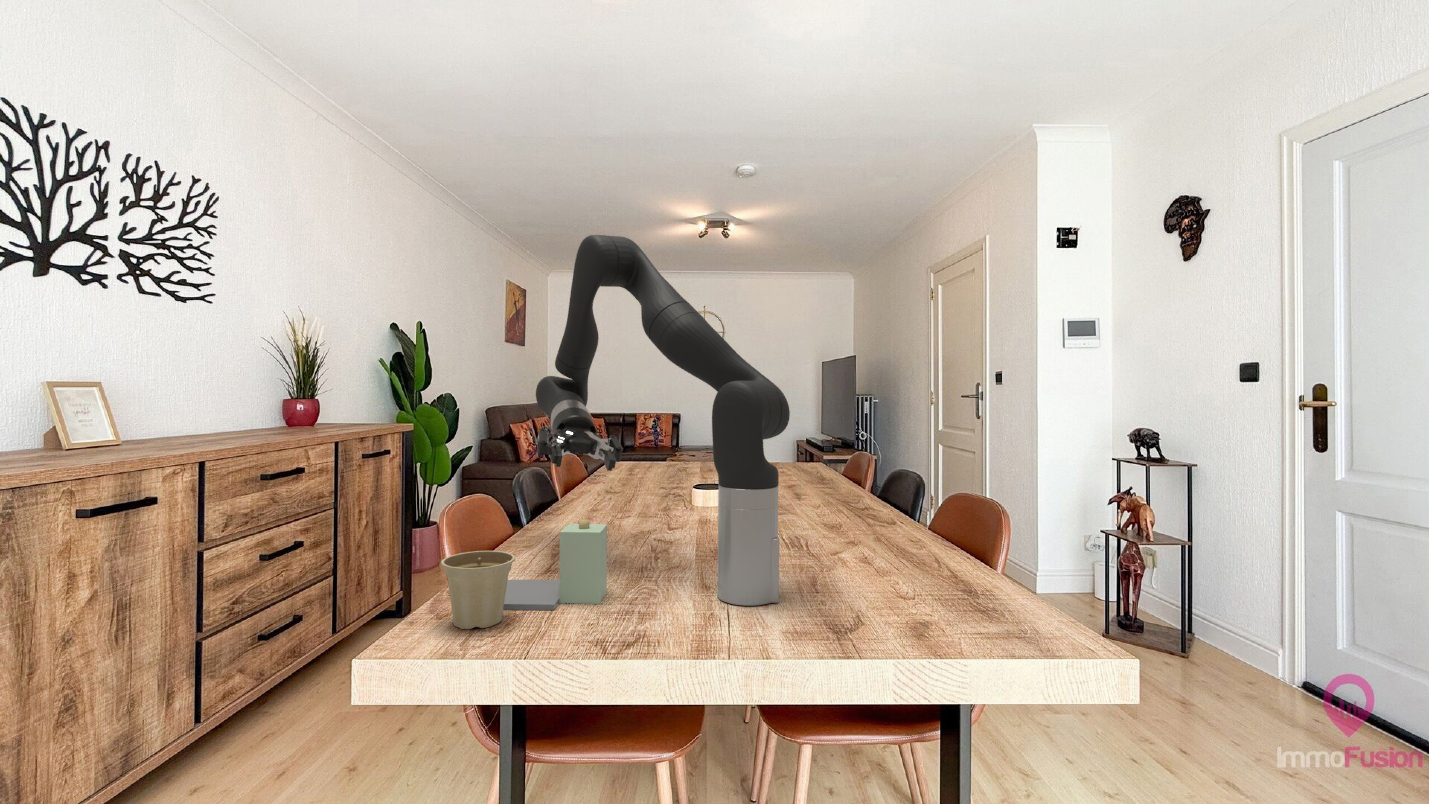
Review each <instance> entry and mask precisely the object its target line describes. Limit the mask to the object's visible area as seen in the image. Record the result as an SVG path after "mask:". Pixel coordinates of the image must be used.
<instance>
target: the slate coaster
mask: <svg viewBox="0 0 1429 804" xmlns="http://www.w3.org/2000/svg"><path fill="white" fill-rule="evenodd" d="M559 605H560V603H559V579H557V580H556V579H555V580H554V579H508V581H507V587H506V594H505V600H504V608H503V611H504V610H505V611H507V610H508V611H509V610H510V611H511V610H512V611H515V610H516V611H520V610H521V611H555V610H556V608H557V607H558V606H559Z"/></svg>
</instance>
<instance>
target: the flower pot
mask: <svg viewBox="0 0 1429 804" xmlns="http://www.w3.org/2000/svg"><path fill="white" fill-rule="evenodd" d="M515 560H516V556H515V555H514V554H513V553H512V552H506V551H502V550H501V551H500V550H476V551H466V552H459V553H457V554H451V555H449V556H446V557H445V558H443V559H441V562H440V564H441V566H442V567H443V569H444V574H445V576H446V577H447V584H448V590H449V598H450V606H451V614H452V622H453V623H452V624H453V626H455V627H457V628H459V629H462V630H463V629H464V630H472V629H473V628H480V629H486V628H490V627H493V626H495V625H498V624H499V623H501V621H502V618H503V615H504V613H503V612H504V610H503V608H504V600H505V594H506V587H507V581H508V580H509V574H510V572H511V570H512V565H513V563H514V562H515Z"/></svg>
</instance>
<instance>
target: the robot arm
mask: <svg viewBox="0 0 1429 804" xmlns="http://www.w3.org/2000/svg"><path fill="white" fill-rule="evenodd" d="M601 287H606V288H607V287H612V288H613V287H615V288H616V287H617V288H619V287H620V288H622V289H624V290H626V291H627V292H629V294H631V295H632V296H633V298H634V299H636V301H637V302H638V303H639V304H640V309H641V310H640V311H641V312H640V313H641V314H640V315H641V325H642V328H643V332H644V334H645V335H646V336H647V338H648V339H649V340H650V341H651V343H652V344H653V345H654V346H655V347H656V349H657V350H658V351H660V353H661V354H662V355H663V356H664V357H665V358H666V359H667V360H668V361H670V362H671V363H672V364H673V365H675V366H677V368H679V369H681V370H683V371H684V372H686V373H688V374H690V375H691V376H693V377H694V378H697V379H699V380H700V381H702V382H703V383H705V384H707V385H709V386H710V387H711V388H712V389H713V390H715V391H716V394H715V397H714V400H713V404H712V410H711V411H712V412H711V432H712V433H711V436H712V455H713V457H712V459H713V463H714V467H715V470H716V473H717V476H718V481H717V482H718V497H717V498H718V500H717V501H718V504H717V506H718V507H717V508H718V510H717V511H718V512H717V513H718V514H717V515H718V516H717V580H716V581H717V582H716V583H717V584H716V587H717V588H716V589H717V592H716V594H717V598H718V599H719V600H720V601H723V602H725V603H727V604H731V605H735V606H736V605H737V606H761V605H767V604H770V603H774V604H775V603H776V604H777V603H779V602H780V542H781V541H780V538H779V484H780V483H779V479H780V478H779V477H780V476H779V470H778V468H777V466H775V465H774V464H772V463H770V462H769V461H768V460H767V458H766V456H765V451H764V440H768V439H772V438H775V437H778V436H779V435H781V434H782V433H783V432H785V430H786V429H787V427H788V424H789V422H790V416H791V415H790V414H791V411H790V406H789V402H788V400H787V397H786V396H785V393H784V392H783V391H782V390H781V389H780V388H779V387H778V386H777V384H775V383H774V382H772V380H770V379H769V378H768V377H766V376H765V375H764V374H762V373H761V372H760V371H759V370H758V369H756V368H755V367H753V365H751V364H750V363H749V362H747V361H746V360H745V359H744V358H743V357H742V356H741V355H740V354H739V353H737V351H736V350H735V349H734V348H733V347H732V346H731V345H730V344H729V343H728V342H727V341H726V340H725V339H724V338H723V337H722V336H721V335H720V333H718V332H717V330H716V329H714V327H712V325H711V324H710V323H709V321H707V320H706V319H705V317H703V315H701V314H700V313H699V312H698V311H697V309H696V308H694V307H693V305H692V304H690V302H688V301H687V300H686V298H685V297H683V296H682V295H681V294H680V293H679V292H678V291H677V290H676V289H675V288H674V287H673V286H672V284H670V283H669V281H668V280H666V279H665V277H664V276H663V275H662V274H661V273H660V272H659V270H658V269H657V267H655V265H654V264H653V262H651V260H650V259H649V258H648V256H647V255H646V253H645V252H644V251H643V250H642V249H641V247H640V246H639V245H638V244H637V243H636V242H635V241H633V240H632V239H630V238H629V237H625V236H621V235H620V236H615V235H605V234H591V235H587V236H586V237H585V238H584V239H582V241H581V242H580V245H579V247H578V249H577V253H576V257H575V261H574V267H573V273H572V279H571V288H570V297H569V303H568V304H569V305H568V311H567V316H566V317H567V319H566V324H565V328H564V332H563V336H562V337H561V338H562V339H561V342H560V344H559V348H558V350H557V354H556V357H555V360H554V367H555V369H556V371H557V373H560V375H562V376H564V377H560V376H556V375H547V376H544V377H542V378H541V379H540V381H539V382H538V383H537V386H536V390H535V398H536V399H535V400H536V403H537V405H538V407H539V408H540V410H541V411H542V412H543V413H544V414H546V416H548V417H549V418H550V428H551V430H552V433H550V432H547V429H545V428H539V429H538V435H537V440H536V447H537V449H536V450H537V455H538V456H542V457H543V456H545V455H548V457H549V458H550V463H552V464H553V465H555V467H557V468H560V467H561V466H562V460H563V457H564V456H566V455H567V454H582V455H587V456H589V457H591V458H593V459H594V460H599V459H600V460H602V462H603V463H604V466H605V468H606V471H607V472H608V471H609V472H611V471H613V469H615V467H616V465H617V464H616V463H617V462H618V463H619V462H621V458H622V454H623V451H624V447H623V446H622V444H621V442H620V441H619V439H618V437H617V436H616V435H613V434H610V435H609V438H602V437H601V435H599V434H598V431H597V428H596V425H595V423H594V420H593V417H592V415H591V413H590V411H589V410H588V408H587V404H588V398H589V392H588V391H589V389H588V388H589V387H588V386H589V385H588V384H589V375H590V369H591V366H592V364H593V361H594V358H595V355H596V352H597V348H598V346H599V340H600V339H599V331H598V327H597V322H596V319H595V314H594V308H593V307H594V300H595V298H596V295H597V292H598V290H599V288H601ZM565 377H566V378H565ZM550 442H551V443H550ZM604 451H605V453H604Z"/></svg>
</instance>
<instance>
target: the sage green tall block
mask: <svg viewBox="0 0 1429 804" xmlns="http://www.w3.org/2000/svg"><path fill="white" fill-rule="evenodd" d="M590 520H591V519H588V518H584V519H583V518H581V519H579V520H578V523H568V524H567V525H566V526H565V527H564V528H562V530H560V531H559V568H558V569H559V573H558V574H559V575H558V577H559V578H558V580H559V604H565V603H567V604H568V603H570V605H572V604H573V603H574V605H575V604H577V605H578V604H579V605H581V604H584V605H588V604H589V605H591V604H592V605H600V604H601V603H602V601H603V599H604V597H605V595H606V593H607V589H608V578H607V577H608V571H607V570H608V524H605V523H597V524H596V523H590ZM571 603H572V604H571Z"/></svg>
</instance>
